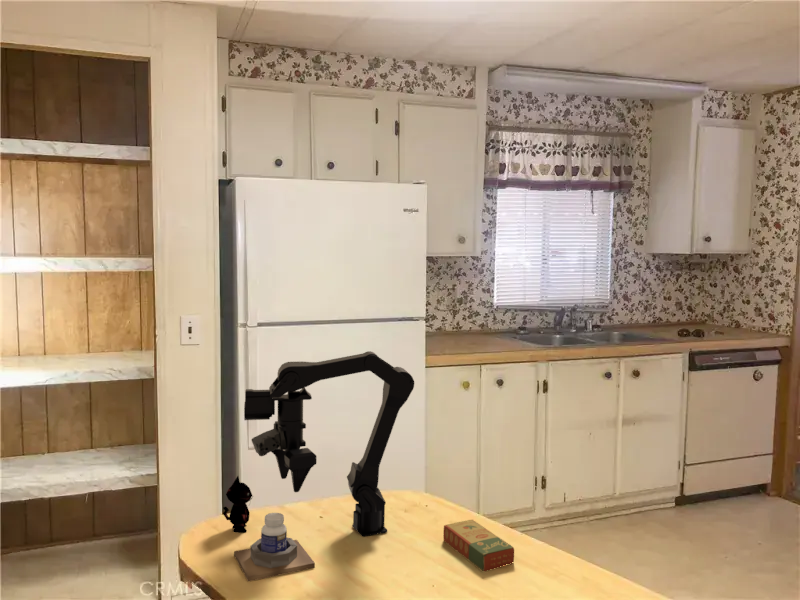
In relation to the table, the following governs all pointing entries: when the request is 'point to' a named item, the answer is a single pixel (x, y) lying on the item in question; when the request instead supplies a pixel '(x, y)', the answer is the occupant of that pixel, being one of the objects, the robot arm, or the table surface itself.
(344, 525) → the table surface
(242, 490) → the cat figurine
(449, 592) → the table surface
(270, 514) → the pill bottle
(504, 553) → the carton
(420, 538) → the table surface
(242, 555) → the collar board
